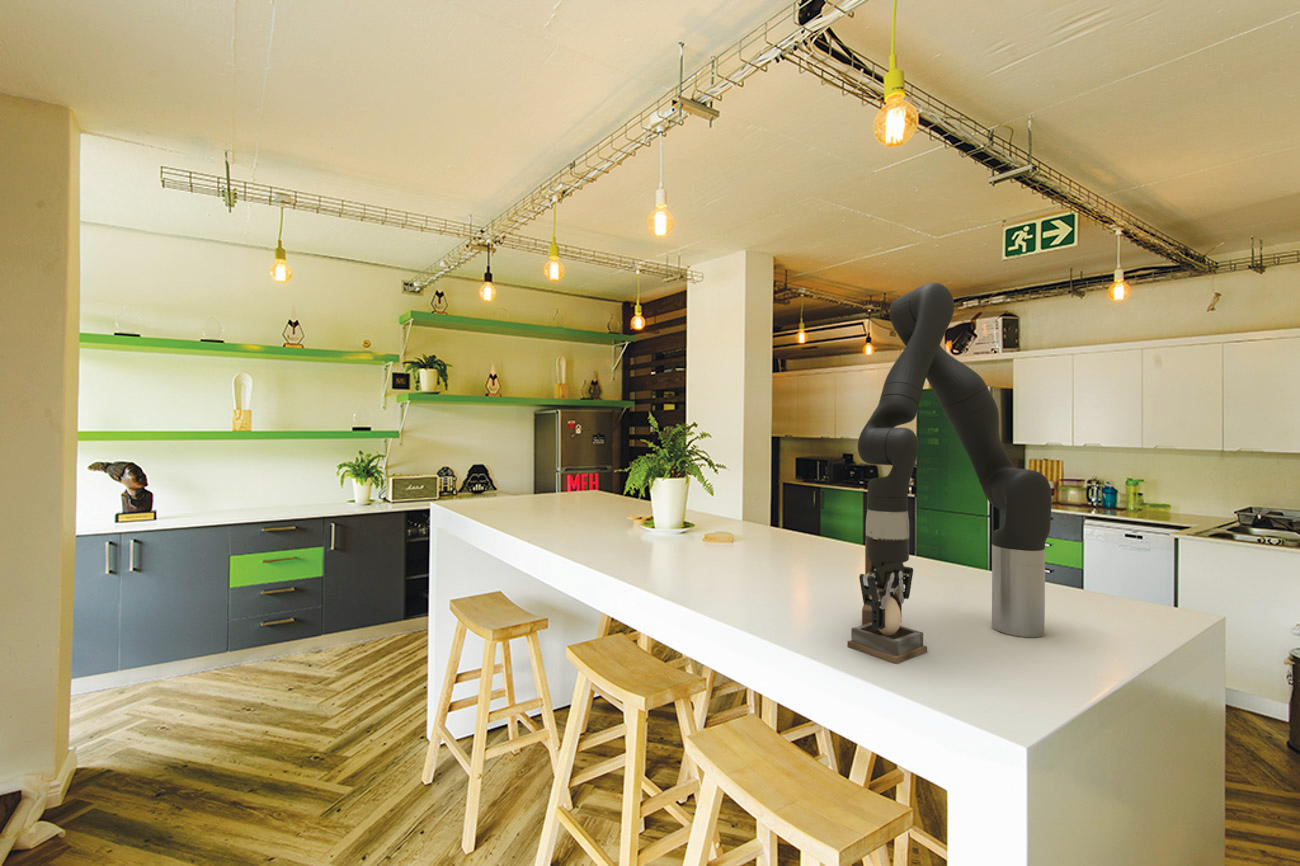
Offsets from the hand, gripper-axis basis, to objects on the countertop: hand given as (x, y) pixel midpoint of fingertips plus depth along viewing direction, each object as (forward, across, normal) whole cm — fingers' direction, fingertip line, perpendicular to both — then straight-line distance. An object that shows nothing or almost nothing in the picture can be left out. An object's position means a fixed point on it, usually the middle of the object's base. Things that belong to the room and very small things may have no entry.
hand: (886, 624), depth 109 cm
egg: (+2, 0, 0) cm, 2 cm away
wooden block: (+5, -10, -9) cm, 14 cm away
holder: (+5, 0, 0) cm, 5 cm away
